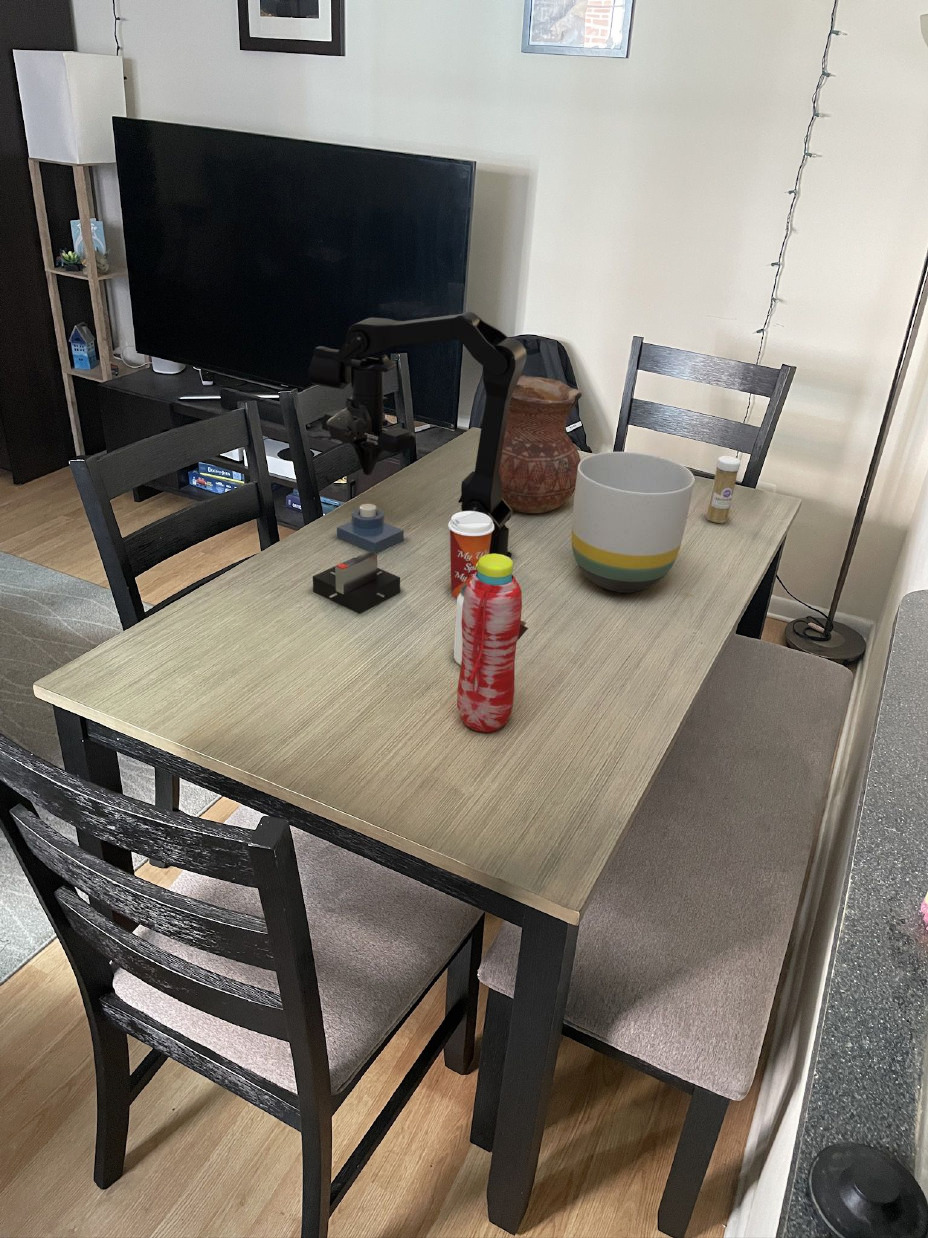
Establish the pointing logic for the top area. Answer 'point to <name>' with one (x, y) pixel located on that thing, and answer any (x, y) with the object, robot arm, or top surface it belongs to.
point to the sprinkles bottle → (723, 489)
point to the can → (459, 626)
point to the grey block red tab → (356, 572)
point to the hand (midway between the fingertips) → (367, 474)
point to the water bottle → (489, 644)
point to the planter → (629, 518)
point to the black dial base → (358, 590)
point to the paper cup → (467, 545)
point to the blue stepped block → (370, 532)
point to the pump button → (367, 510)
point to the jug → (539, 446)
